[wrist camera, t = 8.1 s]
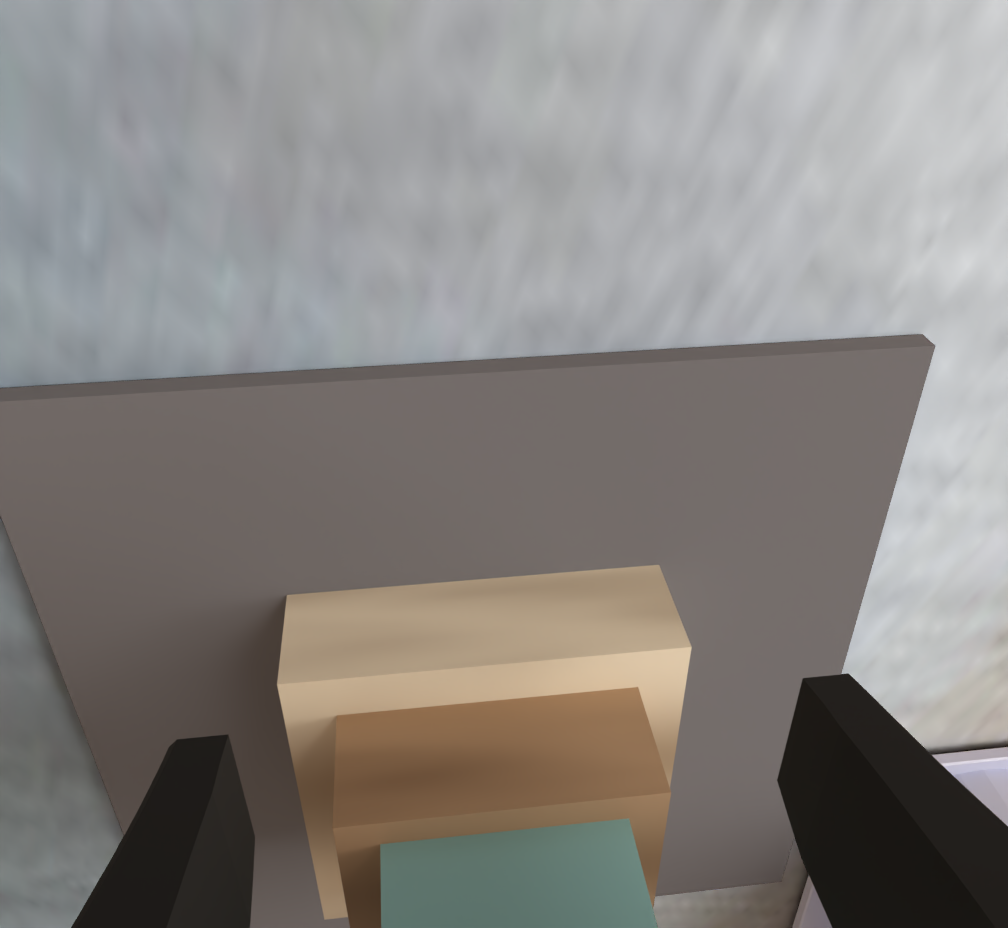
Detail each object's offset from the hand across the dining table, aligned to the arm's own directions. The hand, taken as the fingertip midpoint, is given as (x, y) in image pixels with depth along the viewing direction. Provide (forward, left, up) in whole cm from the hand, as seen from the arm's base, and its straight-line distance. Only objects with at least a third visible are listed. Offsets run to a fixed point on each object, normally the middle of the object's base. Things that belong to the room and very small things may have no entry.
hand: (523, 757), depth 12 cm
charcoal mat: (-8, 0, -8) cm, 11 cm away
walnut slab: (-8, 0, -5) cm, 9 cm away
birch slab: (-8, 0, -7) cm, 11 cm away
